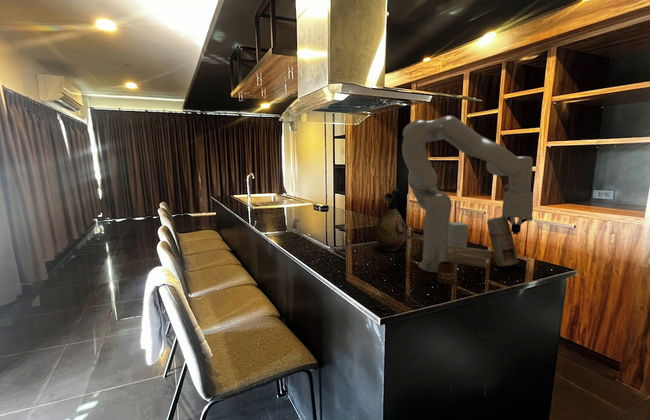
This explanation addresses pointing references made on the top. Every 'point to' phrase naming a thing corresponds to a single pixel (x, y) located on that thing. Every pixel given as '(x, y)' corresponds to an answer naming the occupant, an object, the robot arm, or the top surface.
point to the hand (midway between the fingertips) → (515, 233)
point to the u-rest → (469, 256)
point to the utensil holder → (446, 271)
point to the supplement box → (457, 234)
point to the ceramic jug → (391, 225)
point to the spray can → (502, 241)
